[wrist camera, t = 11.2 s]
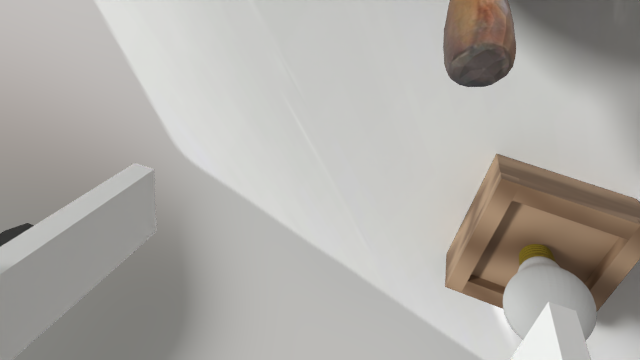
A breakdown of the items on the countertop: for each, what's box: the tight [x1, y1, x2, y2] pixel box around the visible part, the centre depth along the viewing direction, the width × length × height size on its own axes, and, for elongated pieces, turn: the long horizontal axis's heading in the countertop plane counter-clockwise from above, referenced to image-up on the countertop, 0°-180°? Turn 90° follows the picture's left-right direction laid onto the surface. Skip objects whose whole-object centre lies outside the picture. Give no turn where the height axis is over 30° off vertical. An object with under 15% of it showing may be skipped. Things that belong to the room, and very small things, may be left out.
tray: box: [445, 154, 640, 312], centre depth 37 cm, size 12×12×5 cm
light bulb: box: [503, 244, 597, 341], centre depth 32 cm, size 6×6×10 cm
